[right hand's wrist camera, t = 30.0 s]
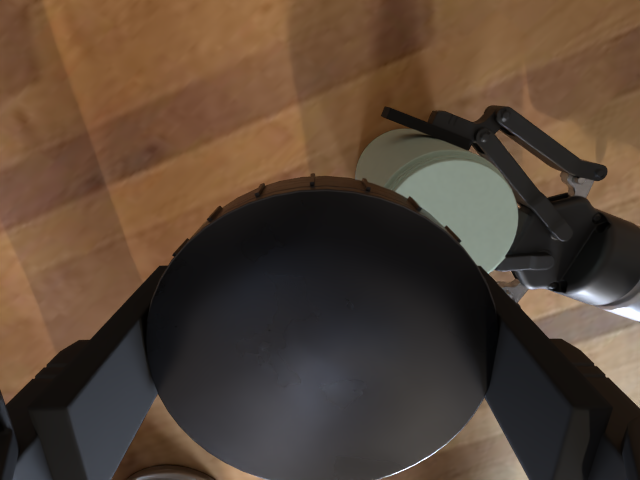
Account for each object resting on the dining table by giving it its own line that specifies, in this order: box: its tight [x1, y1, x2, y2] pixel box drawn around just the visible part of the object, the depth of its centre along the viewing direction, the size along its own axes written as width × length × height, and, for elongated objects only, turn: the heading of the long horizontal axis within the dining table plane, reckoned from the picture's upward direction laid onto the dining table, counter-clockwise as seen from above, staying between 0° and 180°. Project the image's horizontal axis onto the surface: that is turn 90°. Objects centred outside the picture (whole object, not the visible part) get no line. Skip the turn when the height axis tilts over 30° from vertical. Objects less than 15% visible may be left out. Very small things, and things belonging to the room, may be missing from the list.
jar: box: [355, 129, 518, 274], centre depth 30 cm, size 9×9×15 cm
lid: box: [145, 174, 499, 480], centre depth 11 cm, size 10×10×2 cm
